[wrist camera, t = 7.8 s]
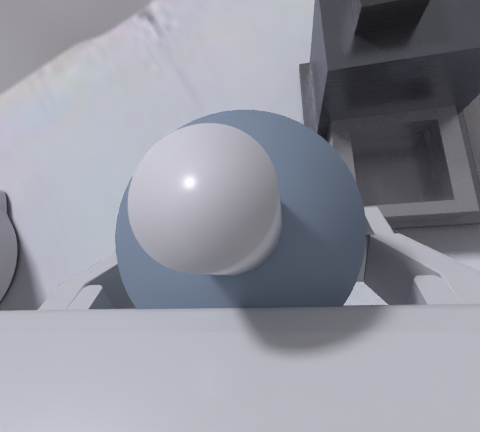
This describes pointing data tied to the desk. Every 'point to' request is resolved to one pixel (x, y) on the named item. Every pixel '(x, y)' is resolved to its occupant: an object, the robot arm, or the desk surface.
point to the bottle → (241, 218)
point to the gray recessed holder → (399, 103)
